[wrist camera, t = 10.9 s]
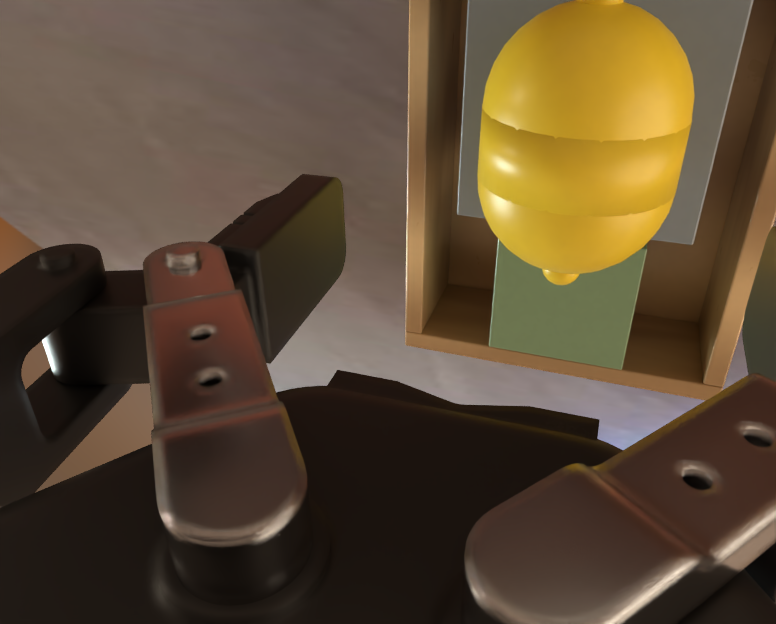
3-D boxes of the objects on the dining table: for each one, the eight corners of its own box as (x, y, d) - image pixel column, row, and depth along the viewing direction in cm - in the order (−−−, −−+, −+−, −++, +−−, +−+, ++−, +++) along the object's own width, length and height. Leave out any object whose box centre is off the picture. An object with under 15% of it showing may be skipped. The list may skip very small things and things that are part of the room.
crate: (451, -94, 28) (409, -89, 24) (830, -91, 25) (869, -85, 20) (436, 287, 38) (404, 345, 33) (711, 330, 34) (718, 403, 29)
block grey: (514, -52, 28) (469, -31, 21) (735, -47, 26) (759, -21, 19) (498, 147, 32) (456, 215, 25) (686, 165, 30) (693, 246, 23)
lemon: (507, -45, 21) (473, -23, 16) (713, -40, 19) (739, -14, 15) (486, 235, 25) (454, 314, 21) (649, 255, 24) (654, 344, 19)
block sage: (523, 176, 32) (498, 229, 27) (650, 190, 31) (647, 249, 26) (512, 282, 35) (488, 346, 30) (628, 299, 34) (622, 370, 29)
